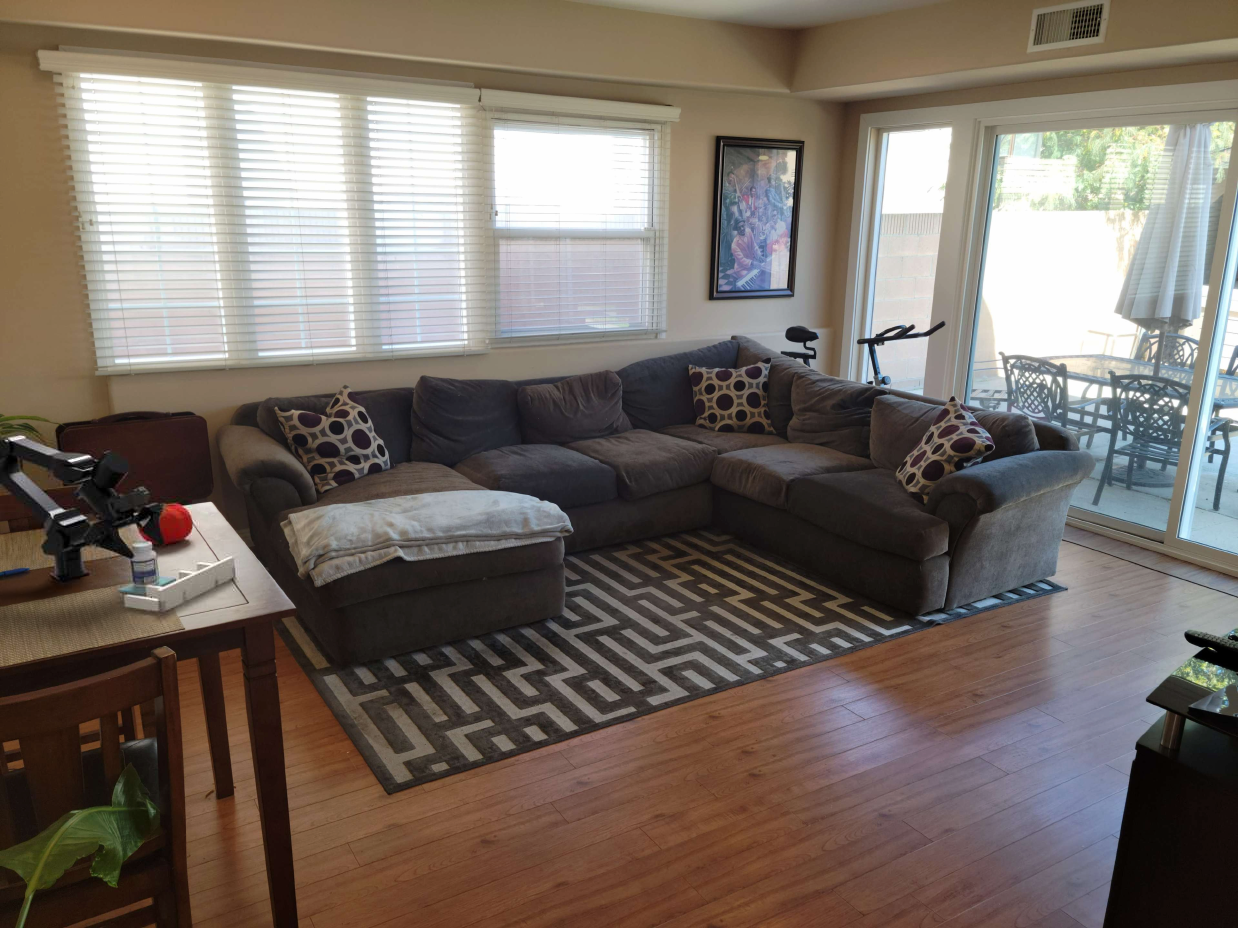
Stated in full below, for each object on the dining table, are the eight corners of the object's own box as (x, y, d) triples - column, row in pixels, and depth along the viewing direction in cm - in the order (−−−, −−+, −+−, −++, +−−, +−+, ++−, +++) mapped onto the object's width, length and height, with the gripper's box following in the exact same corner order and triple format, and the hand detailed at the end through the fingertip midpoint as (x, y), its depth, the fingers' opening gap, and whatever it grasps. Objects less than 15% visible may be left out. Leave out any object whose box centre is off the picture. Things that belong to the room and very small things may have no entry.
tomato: (190, 532, 247) (186, 495, 244) (198, 544, 237) (194, 506, 234) (135, 540, 239) (131, 502, 237) (141, 553, 229) (137, 513, 227)
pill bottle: (139, 579, 210) (135, 540, 208) (163, 579, 210) (159, 539, 208) (129, 588, 205) (124, 547, 202) (153, 587, 205) (149, 547, 203)
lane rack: (125, 606, 195) (122, 585, 194) (200, 571, 217) (199, 552, 216) (162, 612, 193) (160, 590, 192) (235, 576, 214) (233, 556, 213)
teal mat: (118, 591, 204) (117, 589, 204) (151, 576, 213) (151, 574, 213) (143, 595, 202) (143, 593, 202) (176, 580, 211) (175, 578, 211)
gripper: (87, 488, 194) (134, 542, 194) (153, 469, 212) (196, 518, 211) (63, 519, 198) (109, 572, 198) (129, 498, 215) (172, 547, 215)
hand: (148, 551), depth 205 cm, fingers open, 9 cm apart
